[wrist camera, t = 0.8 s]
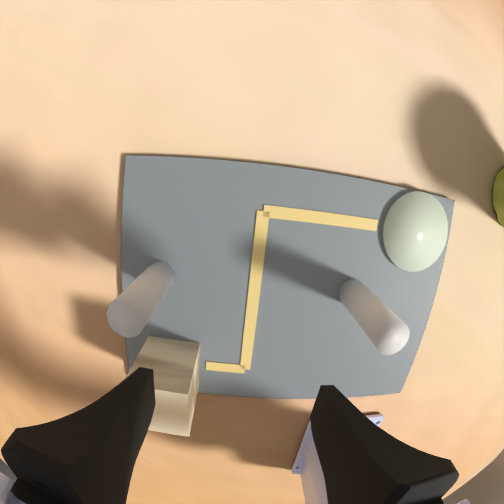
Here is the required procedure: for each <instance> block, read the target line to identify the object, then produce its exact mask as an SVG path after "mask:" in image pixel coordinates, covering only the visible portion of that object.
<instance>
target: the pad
mask: <svg viewBox="0 0 504 504" xmlns="http://www.w3.org/2000/svg"><path fill="white" fill-rule="evenodd" d="M447 235H448V221H447V216H446V213H445V211H444V208H443V207H442V205H441V203H440V202H439V201H438V200H437V199H436V198H435V197H434V196H432V195H430V194H429V193H426V192H420V191H412V192H408V193H405V194H403V195H402V196H400V197H399V198H397V199H396V200H395V201H394V202H393V204H392V205H391V206H390V208H389V210H388V212H387V214H386V216H385V219H384V223H383V228H382V240H383V246H384V249H385V252H386V254H387V256H388V258H389V259H390V260H391V262H392V263H393V264H395V265H396V266H397V267H399V268H401V269H402V270H405V271H409V272H417V271H421V270H424V269H426V268H428V267H429V266H431V265H432V264H433V263H434V262H435V261H436V260H437V259H438V258H439V256H440V255H441V253H442V251H443V249H444V247H445V244H446V240H447Z"/></svg>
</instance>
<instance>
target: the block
mask: <svg viewBox="0 0 504 504" xmlns="http://www.w3.org/2000/svg"><path fill="white" fill-rule="evenodd" d="M139 367H144V368H149V369H153V373H154V388H155V401H156V404H155V408H154V412H153V416H152V420H151V423H150V426H149V428H148V430H151V431H156V432H162V433H168V434H174V435H180V436H187V437H189V435H190V430H191V425H192V419H193V414H194V409H195V403H196V398H197V393H198V388H199V376H200V343H197V342H188V341H180V340H173V339H166V338H159V337H153V336H148V338H147V340H146V342H145V344H144V345H143V347H142V349H141V351H140V352H139V354H138V356H137V358H136V360H135V361H134V363H133V365H132V367H131V369H130V371H129V372H128V374H127V376H126V378H127V377H128V376H129V375H130V374H132V373H133V372H134V371H135V370H136V369H138V368H139ZM126 378H125V379H126Z"/></svg>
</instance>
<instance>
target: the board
mask: <svg viewBox="0 0 504 504" xmlns="http://www.w3.org/2000/svg"><path fill="white" fill-rule="evenodd" d="M412 191H416V190H412V189H408V188H403V187H399V186H394V185H390V184H385V183H380V182H375V181H370V180H365V179H360V178H354V177H349V176H343V175H337V174H331V173H325V172H319V171H312V170H306V169H299V168H291V167H284V166H276V165H268V164H259V163H249V162H239V161H229V160H217V159H203V158H187V157H167V156H128V155H126V162H125V173H124V186H123V203H122V231H121V270H122V293H121V294H120V295H119V296H118V297H117V298H116V299H115V300H114V301H113V302H112V303H111V304H110V305H109V306H108V308H107V312H106V317H107V321H108V324H109V326H110V327H111V328H112V330H113V331H114V332H116V333H117V334H119V335H121V336H123V337H125V339H126V349H127V358H128V366H129V371H130V369H131V367H132V365H133V363H134V361H135V360H136V358H137V356H138V354H139V352H140V351H141V349H142V347H143V345H144V344H145V342H146V340H147V338H148V336H153V337H159V338H166V339H173V340H180V341H188V342H197V343H200V376H199V388H198V392H199V393H207V394H217V395H227V396H240V397H256V398H283V399H316V398H317V395H318V392H319V389H320V386H321V385H334V386H335V387H336V388H337V389H338V390H339V391H340V392H341V393H342V394H343V395H344V396H345V397H362V396H374V395H384V394H393V393H400V392H401V390H402V387H403V385H404V383H405V381H406V378H407V376H408V373H409V371H410V369H411V366H412V364H413V361H414V358H415V356H416V353H417V350H418V348H419V345H420V342H421V339H422V336H423V334H424V331H425V328H426V325H427V321H428V318H429V315H430V312H431V309H432V305H433V302H434V298H435V295H436V291H437V287H438V283H439V279H440V275H441V271H442V267H443V262H444V258H445V253H446V248H447V243H448V238H449V232H450V226H451V220H452V214H453V206H454V200H452V199H448V198H444V197H440V196H436V195H432V194H430V195H432V196H434V197H435V198H436V199H437V200H438V201H439V202H440V203H441V205H442V207H443V208H444V211H445V213H446V216H447V221H448V235H447V240H446V244H445V247H444V249H443V251H442V253H441V255H440V256H439V258H438V259H437V260H436V261H435V262H434V263H433V264H432V265H431V266H429V267H428V268H426V269H424V270H421V271H417V272H409V271H405V270H402V269H401V268H399V267H397V266H396V265H395V264H393V263H392V262H391V260H390V259H389V258H388V256H387V254H386V252H385V249H384V246H383V240H382V228H383V223H384V219H385V216H386V214H387V212H388V210H389V208H390V206H391V205H392V204H393V202H394V201H395V200H396V199H397V198H399V197H400V196H402V195H403V194H405V193H408V192H412Z"/></svg>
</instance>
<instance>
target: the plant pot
mask: <svg viewBox="0 0 504 504" xmlns="http://www.w3.org/2000/svg"><path fill="white" fill-rule="evenodd" d="M493 207H494V209H495V211H496V213H497V217H498V222H499V223H500V224H501V225H502V226H503V227H504V168H503V169H502V170H501V171H500V172H499V173H498V174H497V175H496V178H495V181H494V185H493Z"/></svg>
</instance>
